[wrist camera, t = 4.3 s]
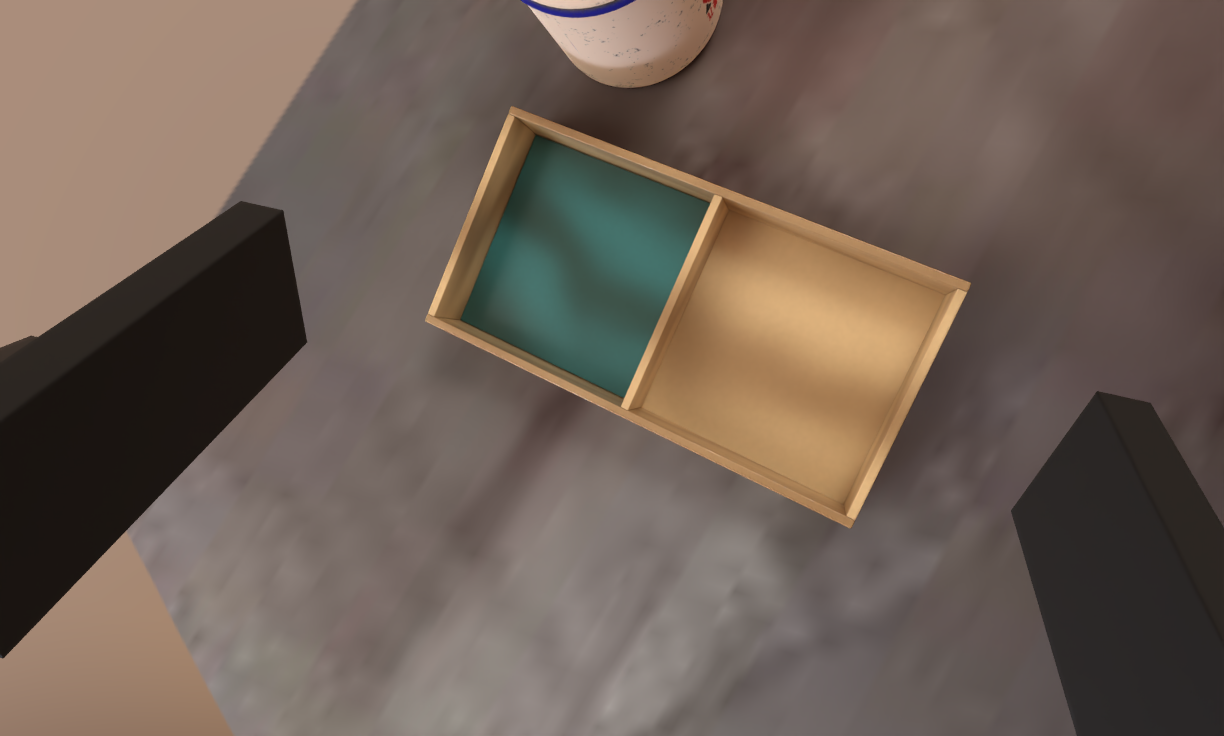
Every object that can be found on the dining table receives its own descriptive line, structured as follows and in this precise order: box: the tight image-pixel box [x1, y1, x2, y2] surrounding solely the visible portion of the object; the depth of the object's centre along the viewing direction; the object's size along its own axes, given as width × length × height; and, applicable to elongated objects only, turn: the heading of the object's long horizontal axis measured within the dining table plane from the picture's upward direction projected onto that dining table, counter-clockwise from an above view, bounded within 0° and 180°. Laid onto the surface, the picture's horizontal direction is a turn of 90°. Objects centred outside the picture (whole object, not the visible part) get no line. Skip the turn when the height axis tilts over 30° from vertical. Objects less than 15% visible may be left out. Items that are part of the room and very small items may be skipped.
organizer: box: [425, 106, 971, 528], centre depth 34 cm, size 11×22×3 cm, turn 66°
